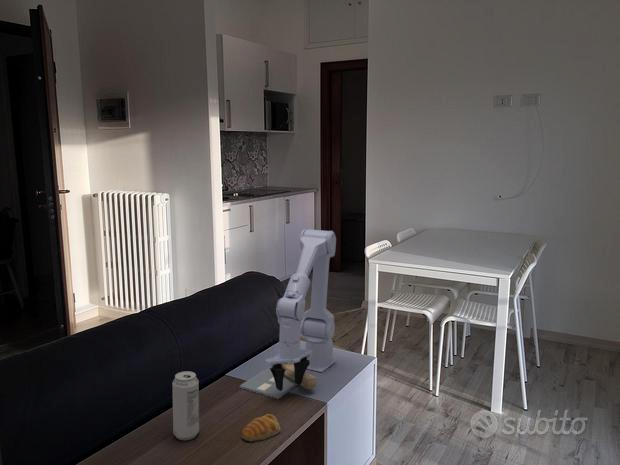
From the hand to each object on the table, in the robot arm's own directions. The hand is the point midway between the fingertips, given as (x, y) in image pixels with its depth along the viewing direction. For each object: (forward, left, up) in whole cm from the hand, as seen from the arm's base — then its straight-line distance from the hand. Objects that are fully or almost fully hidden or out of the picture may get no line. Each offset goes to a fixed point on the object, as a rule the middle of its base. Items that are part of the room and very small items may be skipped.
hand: (288, 386), depth 148 cm
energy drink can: (+30, -11, -3) cm, 32 cm away
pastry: (+20, +4, -3) cm, 21 cm away
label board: (-4, -8, -3) cm, 9 cm away
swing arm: (-7, -2, -1) cm, 7 cm away
